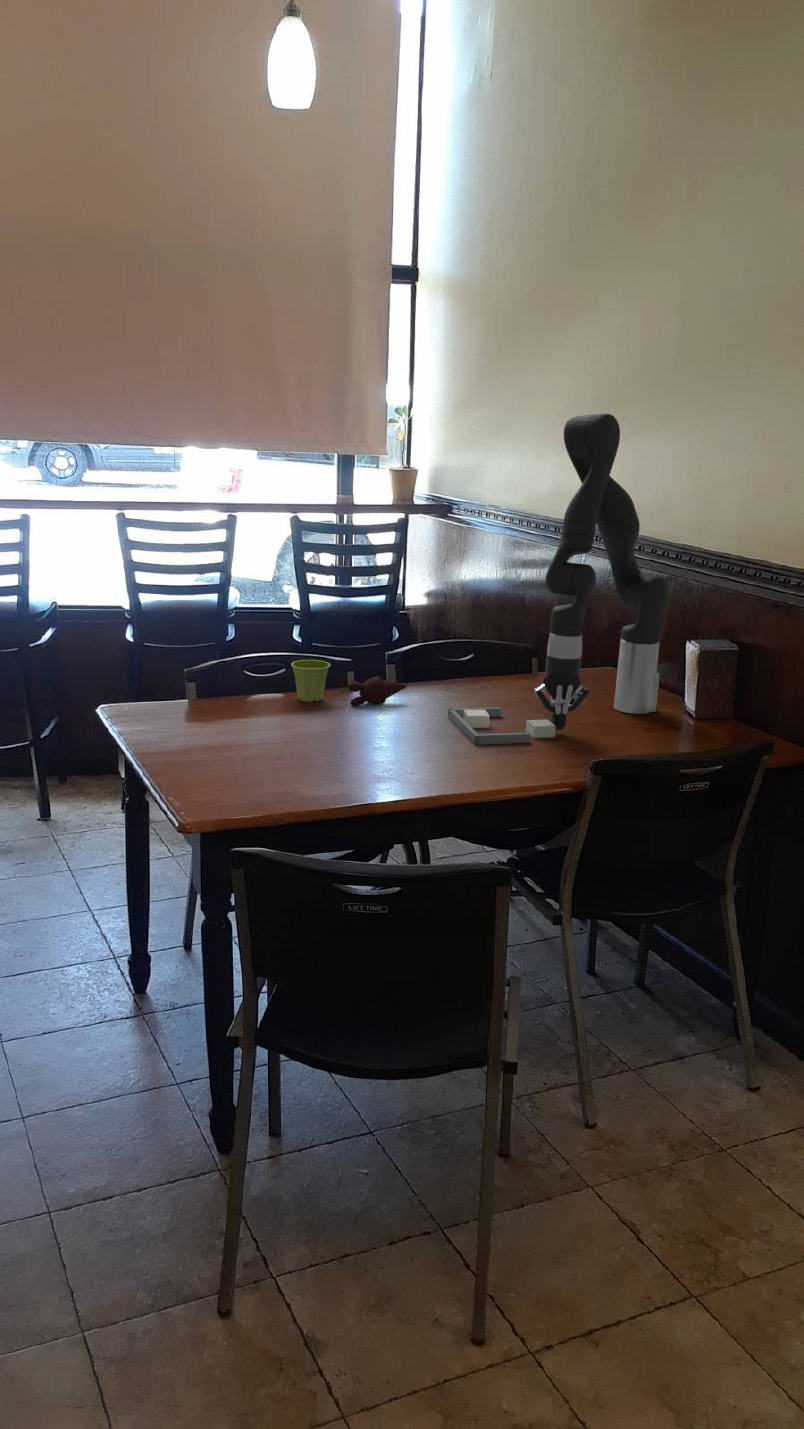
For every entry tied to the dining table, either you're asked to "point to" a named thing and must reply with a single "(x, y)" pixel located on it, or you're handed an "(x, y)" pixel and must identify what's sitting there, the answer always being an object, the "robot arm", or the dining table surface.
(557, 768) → the dining table surface
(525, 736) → the grey u-shaped frame
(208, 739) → the dining table surface
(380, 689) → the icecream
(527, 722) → the tile sage
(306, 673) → the plant pot
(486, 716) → the tile cream
